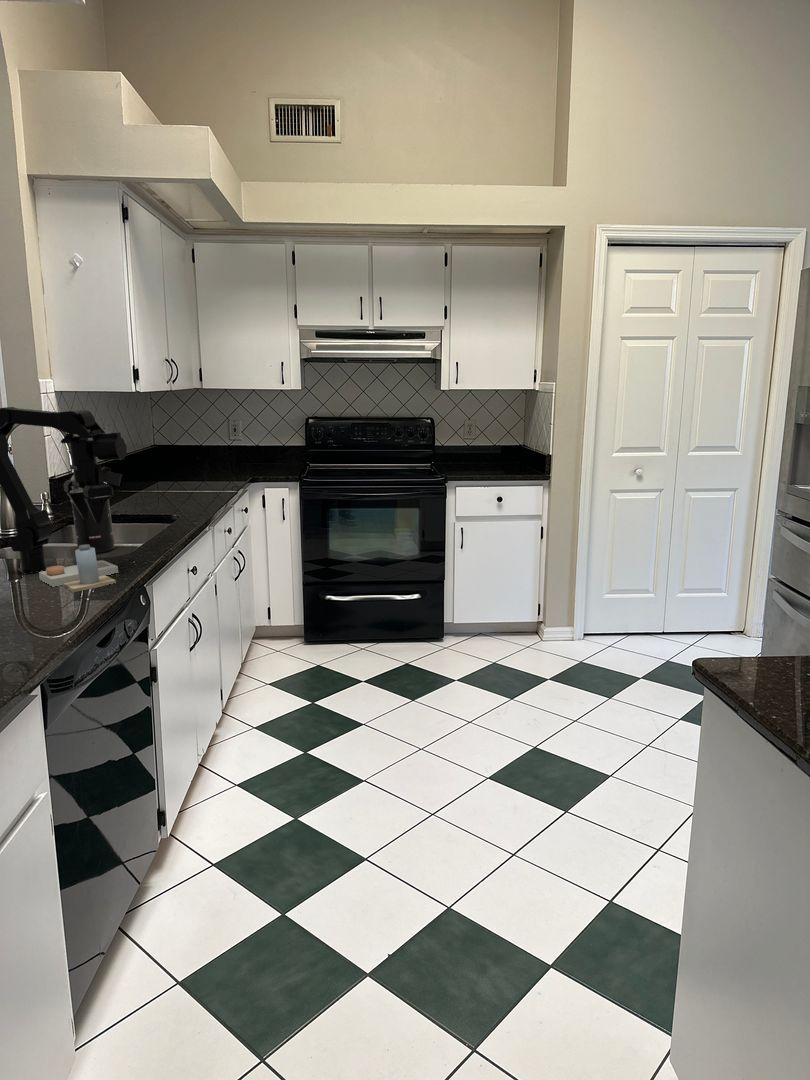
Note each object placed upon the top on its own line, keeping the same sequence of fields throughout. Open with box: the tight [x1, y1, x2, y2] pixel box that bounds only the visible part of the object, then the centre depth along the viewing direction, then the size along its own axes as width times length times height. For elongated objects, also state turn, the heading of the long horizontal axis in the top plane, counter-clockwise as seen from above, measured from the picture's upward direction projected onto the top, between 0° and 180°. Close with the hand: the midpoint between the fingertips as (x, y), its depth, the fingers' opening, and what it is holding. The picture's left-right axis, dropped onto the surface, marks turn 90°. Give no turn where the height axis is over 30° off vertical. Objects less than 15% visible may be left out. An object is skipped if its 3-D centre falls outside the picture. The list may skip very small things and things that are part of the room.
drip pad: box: [62, 575, 117, 593], centre depth 182 cm, size 7×10×1 cm
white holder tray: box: [38, 559, 119, 588], centre depth 190 cm, size 10×16×2 cm, turn 132°
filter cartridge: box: [74, 544, 99, 584], centre depth 181 cm, size 4×4×9 cm
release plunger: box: [45, 565, 65, 576], centre depth 186 cm, size 4×4×3 cm
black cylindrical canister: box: [70, 474, 115, 554], centre depth 216 cm, size 10×10×25 cm
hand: (92, 521), depth 193 cm, fingers open, 9 cm apart
